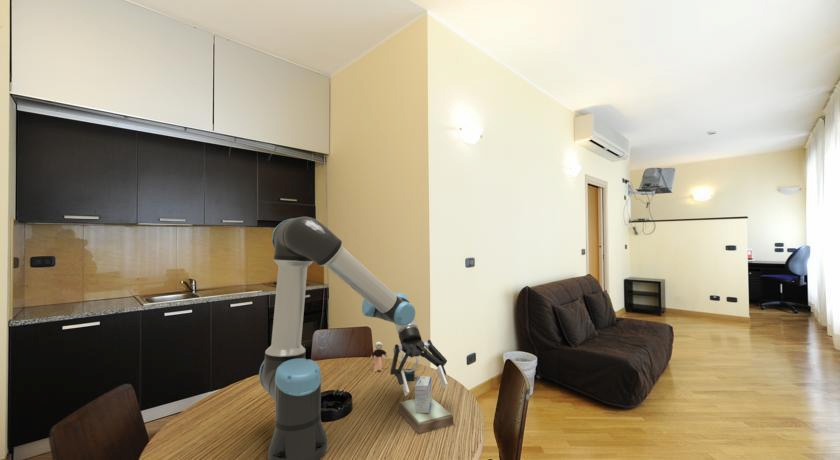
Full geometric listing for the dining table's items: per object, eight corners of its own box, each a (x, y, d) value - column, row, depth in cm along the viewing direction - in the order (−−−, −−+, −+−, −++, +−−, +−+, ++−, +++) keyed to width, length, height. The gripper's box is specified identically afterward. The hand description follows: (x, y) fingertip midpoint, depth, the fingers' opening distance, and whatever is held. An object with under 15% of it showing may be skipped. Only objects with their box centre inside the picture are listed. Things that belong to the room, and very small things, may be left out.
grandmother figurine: (372, 373, 151) (372, 344, 152) (369, 370, 155) (369, 341, 155) (388, 370, 155) (388, 341, 156) (385, 367, 159) (385, 339, 159)
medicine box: (429, 413, 108) (428, 385, 109) (415, 413, 109) (414, 385, 109) (431, 402, 116) (431, 376, 117) (418, 401, 117) (418, 375, 117)
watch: (399, 376, 148) (399, 350, 148) (418, 376, 147) (418, 350, 148) (398, 381, 142) (398, 354, 143) (418, 381, 142) (417, 354, 142)
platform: (418, 433, 103) (418, 423, 103) (398, 410, 117) (398, 401, 117) (453, 424, 108) (453, 414, 108) (430, 403, 122) (430, 394, 122)
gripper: (435, 333, 133) (456, 387, 119) (372, 341, 123) (387, 402, 109) (442, 322, 129) (464, 377, 114) (377, 330, 118) (392, 391, 104)
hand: (426, 389), depth 112 cm, fingers open, 13 cm apart
